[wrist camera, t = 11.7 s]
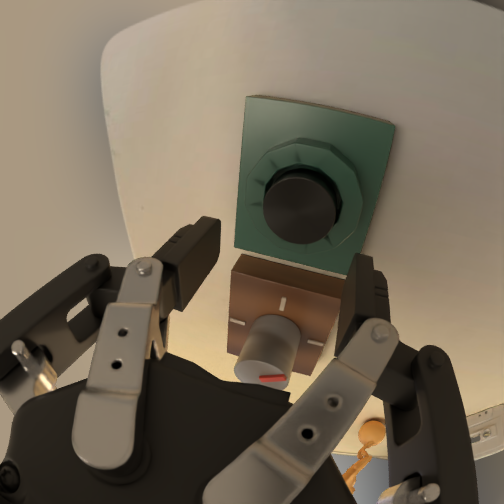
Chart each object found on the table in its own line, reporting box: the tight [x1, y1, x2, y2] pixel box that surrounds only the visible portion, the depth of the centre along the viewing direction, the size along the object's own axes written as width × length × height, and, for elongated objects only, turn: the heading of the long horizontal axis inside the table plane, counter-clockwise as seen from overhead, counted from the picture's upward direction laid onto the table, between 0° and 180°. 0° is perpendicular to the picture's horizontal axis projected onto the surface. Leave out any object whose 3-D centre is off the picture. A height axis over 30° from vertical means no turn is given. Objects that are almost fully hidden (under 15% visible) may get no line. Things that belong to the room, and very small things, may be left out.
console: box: [234, 95, 395, 275], centre depth 18 cm, size 11×9×4 cm
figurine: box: [342, 421, 386, 494], centre depth 30 cm, size 8×6×12 cm
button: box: [263, 168, 337, 244], centre depth 16 cm, size 4×4×2 cm
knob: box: [234, 315, 301, 390], centre depth 23 cm, size 4×4×5 cm
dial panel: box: [227, 254, 345, 376], centre depth 26 cm, size 11×9×3 cm
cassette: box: [466, 404, 504, 460], centre depth 26 cm, size 12×2×8 cm, turn 129°
